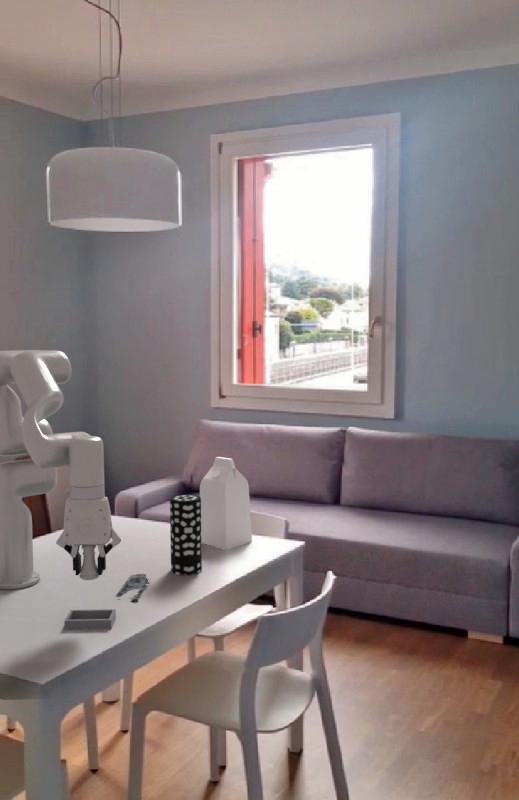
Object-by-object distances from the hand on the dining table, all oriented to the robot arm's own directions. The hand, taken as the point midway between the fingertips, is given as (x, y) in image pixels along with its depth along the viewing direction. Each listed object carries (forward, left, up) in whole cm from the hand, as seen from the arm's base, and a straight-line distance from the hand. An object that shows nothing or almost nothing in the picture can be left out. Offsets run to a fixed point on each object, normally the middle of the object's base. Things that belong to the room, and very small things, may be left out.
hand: (89, 572), depth 180 cm
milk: (+29, +66, -12) cm, 73 cm away
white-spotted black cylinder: (+19, +38, -12) cm, 44 cm away
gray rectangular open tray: (0, 0, -12) cm, 12 cm away
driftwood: (+6, +24, -13) cm, 28 cm away
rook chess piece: (0, 0, -1) cm, 1 cm away
